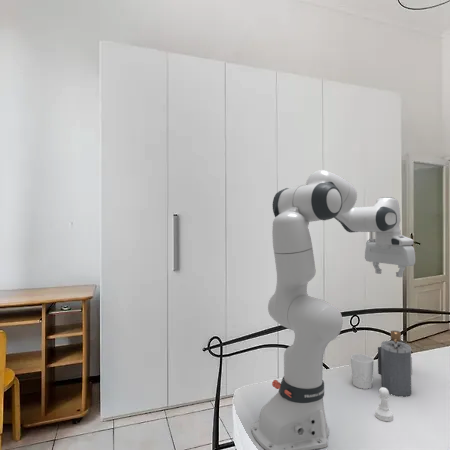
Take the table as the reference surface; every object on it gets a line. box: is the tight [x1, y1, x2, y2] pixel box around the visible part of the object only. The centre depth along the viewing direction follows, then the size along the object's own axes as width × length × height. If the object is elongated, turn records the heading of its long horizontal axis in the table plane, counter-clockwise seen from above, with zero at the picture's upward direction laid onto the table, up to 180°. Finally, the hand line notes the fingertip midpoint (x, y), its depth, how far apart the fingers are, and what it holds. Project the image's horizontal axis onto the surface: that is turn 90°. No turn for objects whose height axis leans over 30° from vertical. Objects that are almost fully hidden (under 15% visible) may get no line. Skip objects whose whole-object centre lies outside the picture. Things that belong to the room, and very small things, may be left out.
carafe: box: [377, 340, 412, 398], centre depth 120 cm, size 10×12×16 cm
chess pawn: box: [374, 387, 394, 422], centre depth 102 cm, size 5×5×9 cm
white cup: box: [350, 353, 375, 390], centre depth 122 cm, size 8×8×10 cm
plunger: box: [390, 330, 402, 347], centre depth 118 cm, size 7×7×18 cm
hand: (388, 275), depth 128 cm, fingers open, 8 cm apart
